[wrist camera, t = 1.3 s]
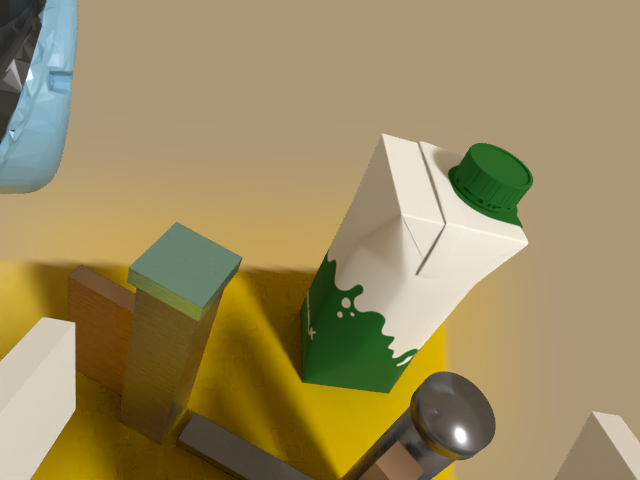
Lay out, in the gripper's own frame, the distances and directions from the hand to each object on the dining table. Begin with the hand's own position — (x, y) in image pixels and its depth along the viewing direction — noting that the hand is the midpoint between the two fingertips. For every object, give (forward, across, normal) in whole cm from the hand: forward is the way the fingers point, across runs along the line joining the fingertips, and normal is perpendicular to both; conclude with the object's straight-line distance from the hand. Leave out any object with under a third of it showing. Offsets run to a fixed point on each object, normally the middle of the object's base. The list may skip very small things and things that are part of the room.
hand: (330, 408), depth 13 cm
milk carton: (+24, +4, -15) cm, 29 cm away
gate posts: (+14, -4, -17) cm, 22 cm away
